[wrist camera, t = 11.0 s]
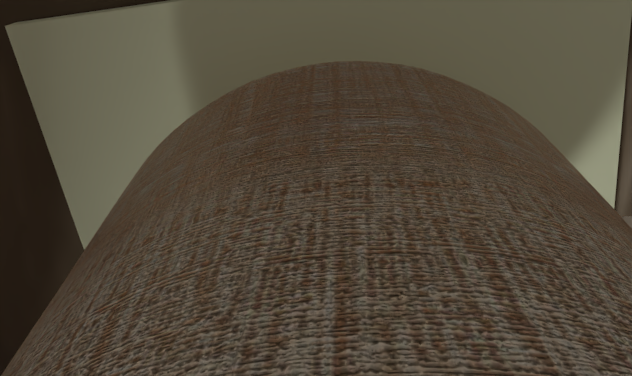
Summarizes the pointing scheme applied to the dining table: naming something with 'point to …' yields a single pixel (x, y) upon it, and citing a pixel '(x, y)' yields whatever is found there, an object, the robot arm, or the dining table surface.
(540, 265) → the planter
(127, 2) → the dining table surface
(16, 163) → the dining table surface
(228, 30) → the mat
